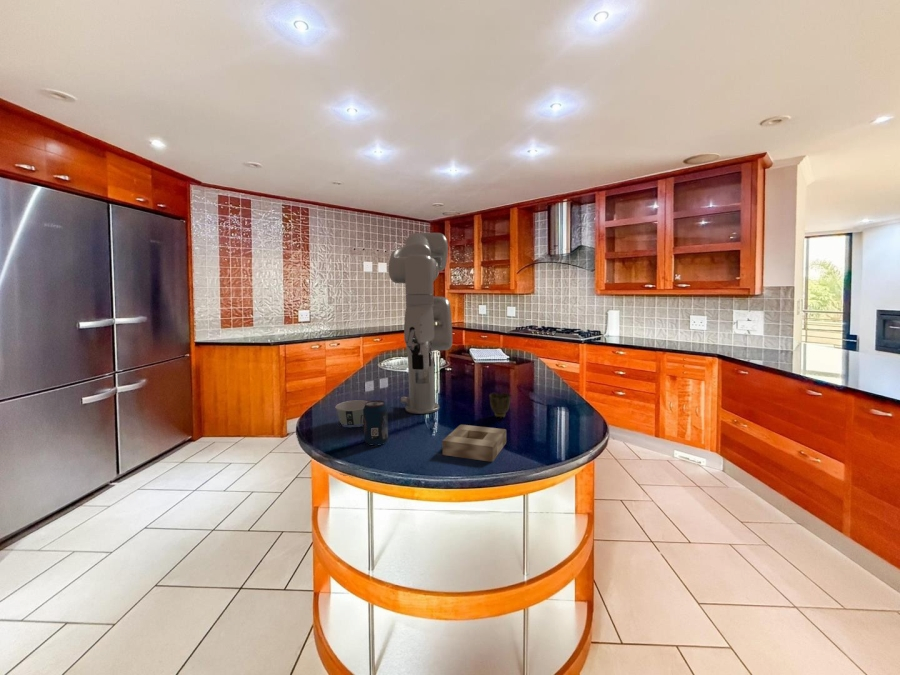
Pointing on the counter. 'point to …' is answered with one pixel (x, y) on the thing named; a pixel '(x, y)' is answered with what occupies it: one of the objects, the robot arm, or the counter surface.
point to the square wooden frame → (474, 442)
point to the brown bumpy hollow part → (499, 403)
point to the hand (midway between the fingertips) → (421, 367)
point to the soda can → (375, 422)
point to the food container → (351, 412)
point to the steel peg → (423, 374)
